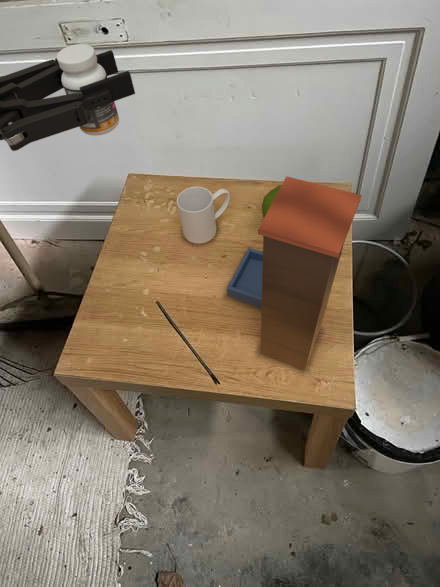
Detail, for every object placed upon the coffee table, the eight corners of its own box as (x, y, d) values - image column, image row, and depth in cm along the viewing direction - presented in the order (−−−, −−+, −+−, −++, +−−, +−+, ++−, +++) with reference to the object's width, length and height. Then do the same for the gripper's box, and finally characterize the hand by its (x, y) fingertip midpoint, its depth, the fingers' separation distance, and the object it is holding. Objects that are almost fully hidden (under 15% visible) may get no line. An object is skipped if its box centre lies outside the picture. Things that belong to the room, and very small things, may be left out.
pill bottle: (112, 139, 57) (88, 66, 49) (74, 136, 58) (44, 64, 50) (125, 114, 60) (105, 42, 52) (89, 111, 61) (63, 40, 53)
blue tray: (279, 314, 85) (279, 306, 83) (227, 296, 88) (226, 288, 86) (297, 271, 91) (299, 263, 88) (248, 256, 94) (248, 247, 91)
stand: (306, 374, 78) (339, 252, 48) (256, 354, 80) (257, 228, 50) (322, 330, 82) (361, 194, 52) (275, 313, 85) (286, 176, 55)
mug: (191, 249, 96) (185, 217, 87) (178, 227, 100) (171, 194, 91) (238, 229, 98) (236, 196, 90) (223, 208, 102) (220, 174, 94)
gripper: (-47, 121, 58) (107, 68, 63) (-24, 201, 49) (156, 132, 54) (-83, 67, 52) (91, 14, 57) (-65, 147, 43) (143, 75, 48)
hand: (122, 71), depth 55 cm, fingers closed on pill bottle, 6 cm apart
